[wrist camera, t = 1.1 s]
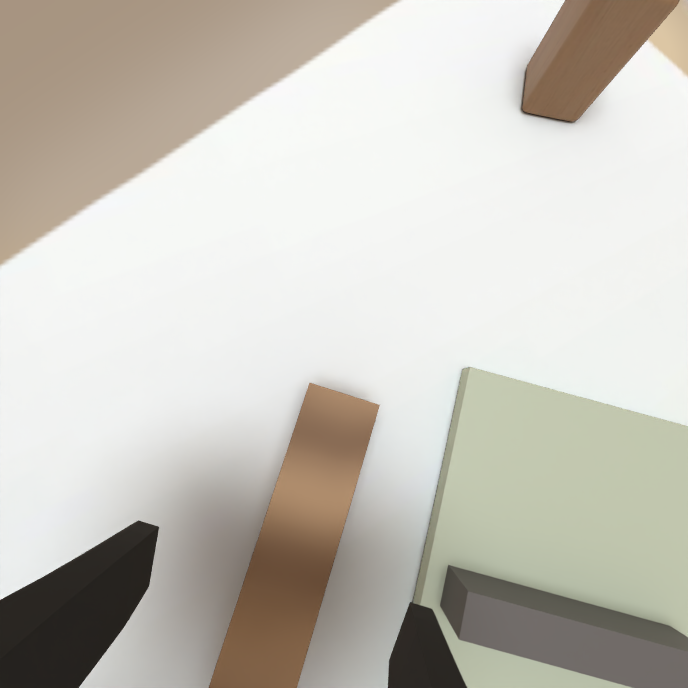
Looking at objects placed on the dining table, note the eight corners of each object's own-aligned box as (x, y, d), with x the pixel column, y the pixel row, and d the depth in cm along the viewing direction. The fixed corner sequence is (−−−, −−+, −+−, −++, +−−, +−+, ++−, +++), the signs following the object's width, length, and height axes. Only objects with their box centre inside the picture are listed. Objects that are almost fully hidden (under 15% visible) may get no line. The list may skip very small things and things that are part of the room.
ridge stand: (640, 889, 18) (725, 1022, 14) (367, 813, 18) (378, 924, 14) (687, 430, 22) (764, 435, 18) (462, 369, 22) (491, 361, 18)
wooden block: (580, 76, 26) (688, -66, 18) (575, 125, 25) (686, -1, 18) (525, 65, 26) (609, -82, 18) (518, 114, 25) (604, -17, 18)
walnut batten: (279, 701, 19) (262, 804, 14) (217, 681, 19) (179, 776, 14) (368, 405, 22) (379, 405, 17) (313, 388, 22) (309, 382, 17)
